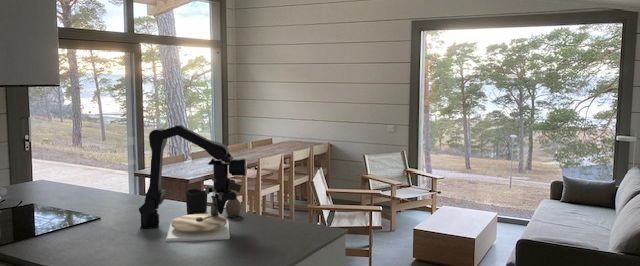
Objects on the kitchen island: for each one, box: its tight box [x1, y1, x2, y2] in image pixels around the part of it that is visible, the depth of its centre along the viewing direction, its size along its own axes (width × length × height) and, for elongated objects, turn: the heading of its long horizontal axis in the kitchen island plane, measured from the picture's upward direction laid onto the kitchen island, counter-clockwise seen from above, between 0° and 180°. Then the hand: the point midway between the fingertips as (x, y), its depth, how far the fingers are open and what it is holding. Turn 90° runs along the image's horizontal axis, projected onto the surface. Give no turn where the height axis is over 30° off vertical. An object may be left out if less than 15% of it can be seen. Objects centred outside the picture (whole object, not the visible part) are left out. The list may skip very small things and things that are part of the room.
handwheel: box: [171, 201, 227, 231], centre depth 205 cm, size 22×21×8 cm
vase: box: [225, 198, 242, 218], centre depth 229 cm, size 7×7×9 cm
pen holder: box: [185, 188, 208, 215], centre depth 234 cm, size 9×9×10 cm
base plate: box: [165, 219, 231, 243], centre depth 205 cm, size 23×23×1 cm
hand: (220, 213), depth 211 cm, fingers closed
